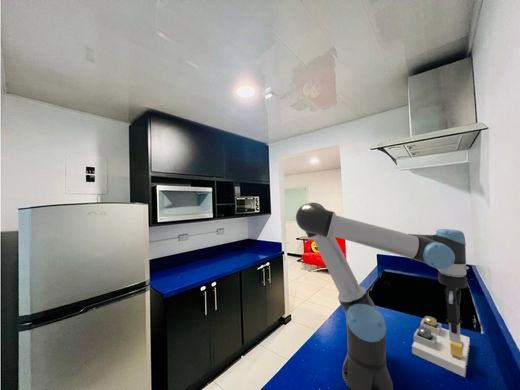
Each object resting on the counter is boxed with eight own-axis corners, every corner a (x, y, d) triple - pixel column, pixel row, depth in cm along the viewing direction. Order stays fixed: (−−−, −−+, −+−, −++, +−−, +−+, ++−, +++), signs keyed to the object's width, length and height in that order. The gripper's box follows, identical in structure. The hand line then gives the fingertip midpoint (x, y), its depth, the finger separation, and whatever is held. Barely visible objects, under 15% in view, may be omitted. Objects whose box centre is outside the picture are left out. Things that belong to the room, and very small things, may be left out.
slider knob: (461, 358, 75) (461, 347, 75) (450, 354, 77) (450, 343, 77) (462, 354, 77) (462, 343, 77) (451, 350, 79) (451, 339, 79)
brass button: (435, 329, 90) (435, 322, 90) (424, 325, 93) (424, 318, 93) (437, 325, 93) (437, 318, 93) (426, 321, 96) (425, 315, 96)
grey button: (430, 341, 82) (430, 334, 82) (417, 336, 85) (417, 329, 85) (432, 337, 85) (432, 329, 85) (420, 332, 88) (419, 325, 88)
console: (464, 377, 71) (464, 361, 71) (411, 353, 82) (411, 339, 83) (469, 344, 87) (469, 331, 87) (424, 328, 98) (424, 316, 98)
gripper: (465, 281, 66) (468, 356, 65) (468, 271, 75) (471, 337, 74) (434, 275, 72) (437, 344, 71) (440, 266, 80) (443, 328, 80)
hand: (455, 340), depth 72 cm, fingers closed
